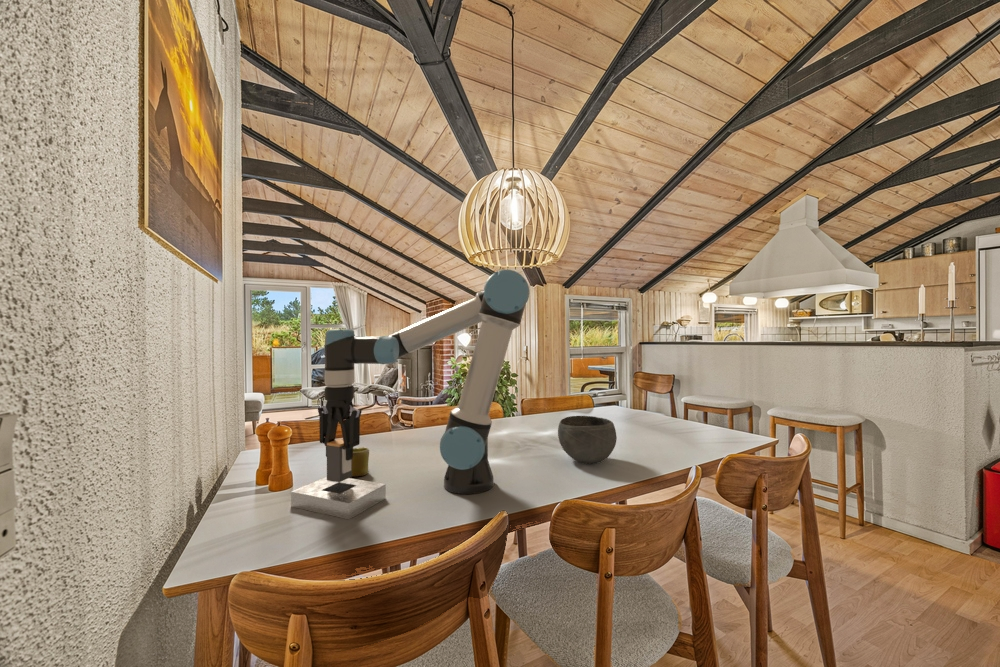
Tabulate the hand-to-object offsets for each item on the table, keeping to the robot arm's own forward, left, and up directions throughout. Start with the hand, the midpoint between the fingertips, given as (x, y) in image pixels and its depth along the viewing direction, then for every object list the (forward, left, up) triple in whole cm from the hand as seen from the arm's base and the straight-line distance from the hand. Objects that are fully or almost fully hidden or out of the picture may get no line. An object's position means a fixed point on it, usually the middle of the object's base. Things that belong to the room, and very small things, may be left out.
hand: (339, 470), depth 111 cm
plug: (0, 0, -2) cm, 2 cm away
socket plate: (0, 0, -9) cm, 9 cm away
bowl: (-56, -62, -9) cm, 84 cm away
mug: (+13, -21, -9) cm, 26 cm away
